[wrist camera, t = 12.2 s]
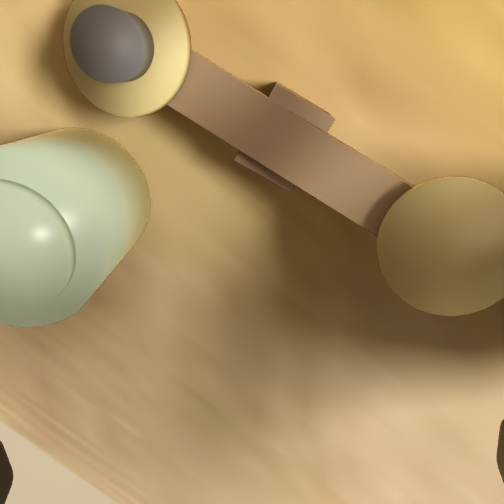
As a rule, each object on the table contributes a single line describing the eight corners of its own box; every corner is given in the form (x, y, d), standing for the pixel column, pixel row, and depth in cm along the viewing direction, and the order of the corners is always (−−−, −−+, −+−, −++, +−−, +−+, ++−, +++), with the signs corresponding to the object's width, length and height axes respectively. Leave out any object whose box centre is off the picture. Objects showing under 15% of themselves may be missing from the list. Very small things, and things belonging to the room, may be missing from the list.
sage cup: (136, 120, 19) (66, 146, 13) (161, 255, 21) (112, 331, 15) (-2, 134, 20) (-129, 165, 14) (37, 264, 22) (-59, 341, 16)
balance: (491, 187, 19) (567, 231, 14) (423, 274, 21) (469, 342, 16) (112, -44, 17) (38, -92, 12) (68, 73, 19) (-14, 76, 14)
